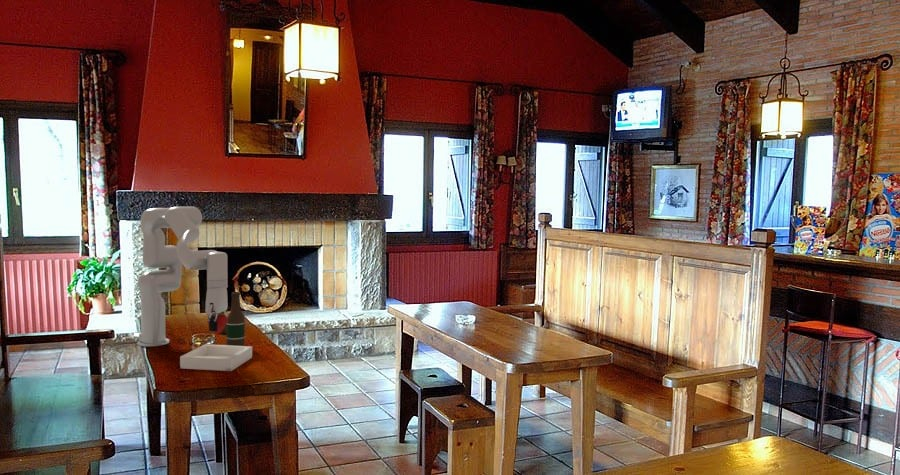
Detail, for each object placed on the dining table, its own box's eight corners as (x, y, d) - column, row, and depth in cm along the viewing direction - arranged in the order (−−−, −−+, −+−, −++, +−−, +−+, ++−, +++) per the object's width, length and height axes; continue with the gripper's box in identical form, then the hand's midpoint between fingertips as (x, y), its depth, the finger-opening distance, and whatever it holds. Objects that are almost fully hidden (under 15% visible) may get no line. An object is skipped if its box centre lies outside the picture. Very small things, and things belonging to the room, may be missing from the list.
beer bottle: (239, 350, 275) (239, 294, 273) (222, 349, 276) (222, 293, 275) (248, 346, 283) (248, 291, 281) (232, 344, 284) (232, 290, 282)
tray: (180, 368, 246) (180, 356, 246) (204, 355, 266) (204, 344, 266) (231, 371, 245) (231, 359, 244) (252, 357, 264) (252, 346, 264)
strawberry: (229, 334, 254) (229, 309, 253) (209, 336, 250) (209, 310, 249) (225, 331, 259) (225, 306, 258) (205, 333, 255) (205, 308, 254)
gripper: (218, 280, 262) (218, 324, 263) (197, 286, 245) (197, 333, 246) (236, 281, 261) (236, 325, 263) (216, 287, 244) (216, 334, 245)
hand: (217, 328), depth 254 cm, fingers closed on strawberry, 6 cm apart
